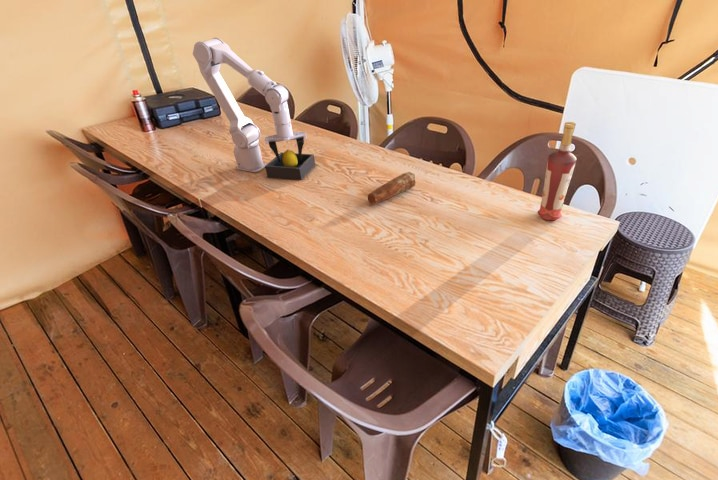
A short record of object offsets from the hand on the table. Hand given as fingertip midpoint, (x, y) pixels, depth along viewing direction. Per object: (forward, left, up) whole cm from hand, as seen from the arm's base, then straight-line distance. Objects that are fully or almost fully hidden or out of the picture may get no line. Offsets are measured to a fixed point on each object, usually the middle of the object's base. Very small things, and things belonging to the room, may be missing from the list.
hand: (289, 159), depth 150 cm
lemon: (0, 0, -4) cm, 4 cm away
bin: (0, 0, -5) cm, 5 cm away
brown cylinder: (+44, -6, -5) cm, 45 cm away
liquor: (+94, -3, -5) cm, 94 cm away
